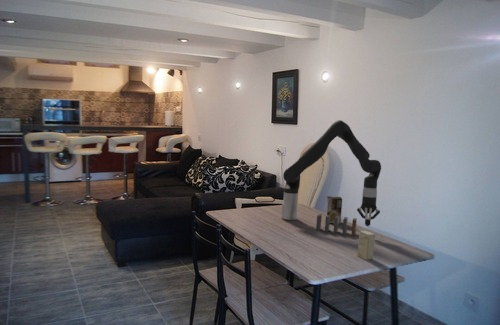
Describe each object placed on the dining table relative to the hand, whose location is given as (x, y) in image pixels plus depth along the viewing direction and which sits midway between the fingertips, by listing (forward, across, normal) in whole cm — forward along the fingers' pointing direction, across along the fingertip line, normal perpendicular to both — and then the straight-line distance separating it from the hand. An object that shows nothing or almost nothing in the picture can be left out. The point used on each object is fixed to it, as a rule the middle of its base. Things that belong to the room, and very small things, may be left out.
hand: (367, 225), depth 217 cm
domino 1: (+6, +27, 0) cm, 28 cm away
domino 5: (+6, +7, 0) cm, 9 cm away
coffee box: (+6, +22, -23) cm, 32 cm away
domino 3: (+6, +17, 0) cm, 18 cm away
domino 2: (+6, +22, 0) cm, 23 cm away
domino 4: (+6, +12, 0) cm, 14 cm away
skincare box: (+6, -2, +37) cm, 38 cm away
